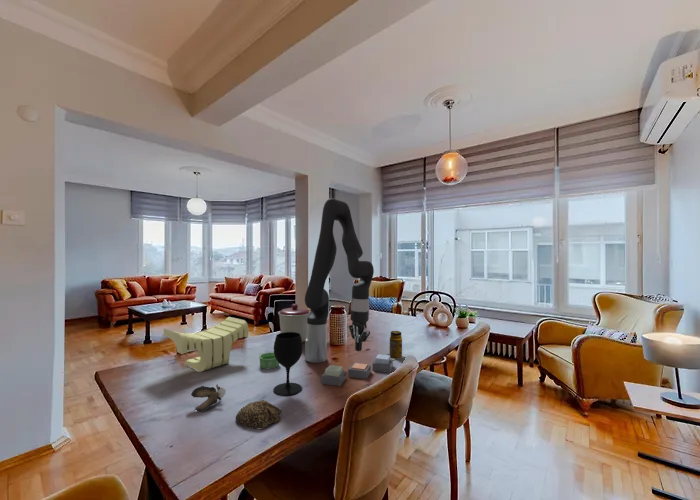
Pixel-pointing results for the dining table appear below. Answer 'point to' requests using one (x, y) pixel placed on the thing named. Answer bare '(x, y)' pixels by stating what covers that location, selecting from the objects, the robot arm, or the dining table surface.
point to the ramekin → (268, 360)
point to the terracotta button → (360, 366)
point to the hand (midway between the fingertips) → (358, 350)
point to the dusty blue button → (383, 359)
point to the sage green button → (334, 370)
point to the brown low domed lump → (258, 414)
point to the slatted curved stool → (210, 343)
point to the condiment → (395, 345)
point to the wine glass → (288, 359)
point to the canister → (294, 320)
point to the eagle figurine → (209, 393)
